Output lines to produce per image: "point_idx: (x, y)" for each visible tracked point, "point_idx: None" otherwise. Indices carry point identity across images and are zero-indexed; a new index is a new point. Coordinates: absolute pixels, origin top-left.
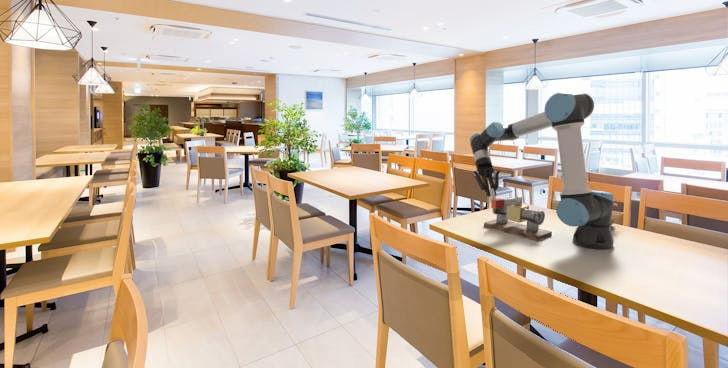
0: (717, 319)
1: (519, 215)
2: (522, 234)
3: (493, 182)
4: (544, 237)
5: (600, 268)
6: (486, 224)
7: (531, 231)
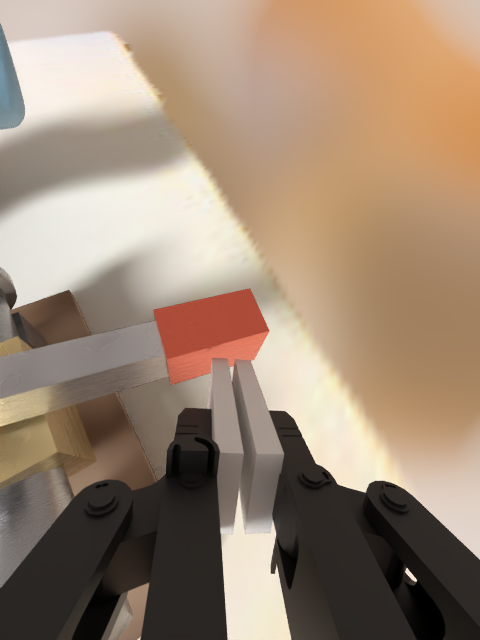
0: (80, 35)
1: None
2: None
3: (150, 635)
4: None
5: (77, 134)
6: None
7: (45, 340)
